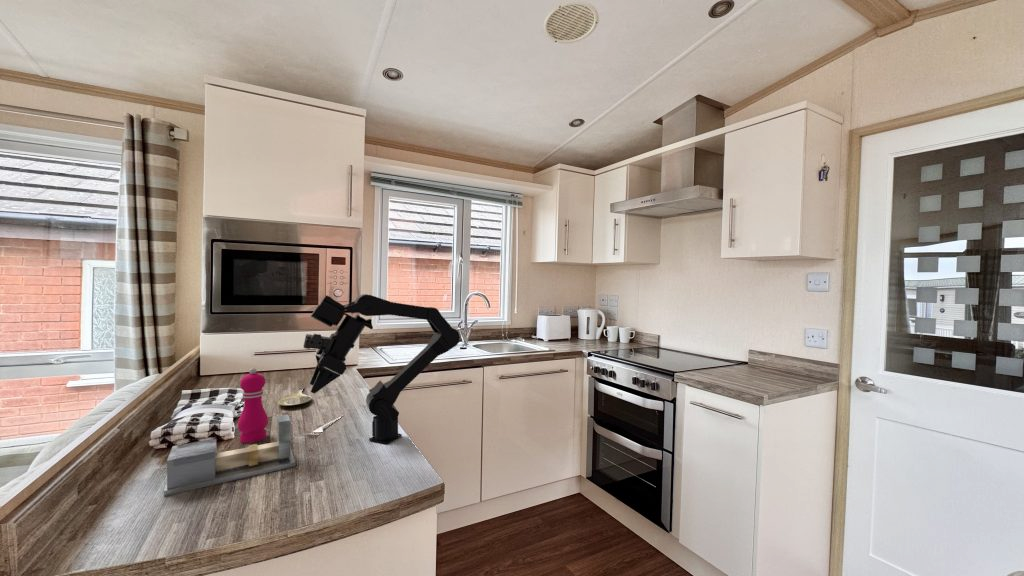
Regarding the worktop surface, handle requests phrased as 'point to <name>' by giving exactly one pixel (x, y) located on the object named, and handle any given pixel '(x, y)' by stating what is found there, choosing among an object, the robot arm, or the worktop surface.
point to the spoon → (296, 395)
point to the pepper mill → (252, 408)
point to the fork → (322, 427)
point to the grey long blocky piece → (209, 467)
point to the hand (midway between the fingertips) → (312, 388)
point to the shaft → (258, 449)
